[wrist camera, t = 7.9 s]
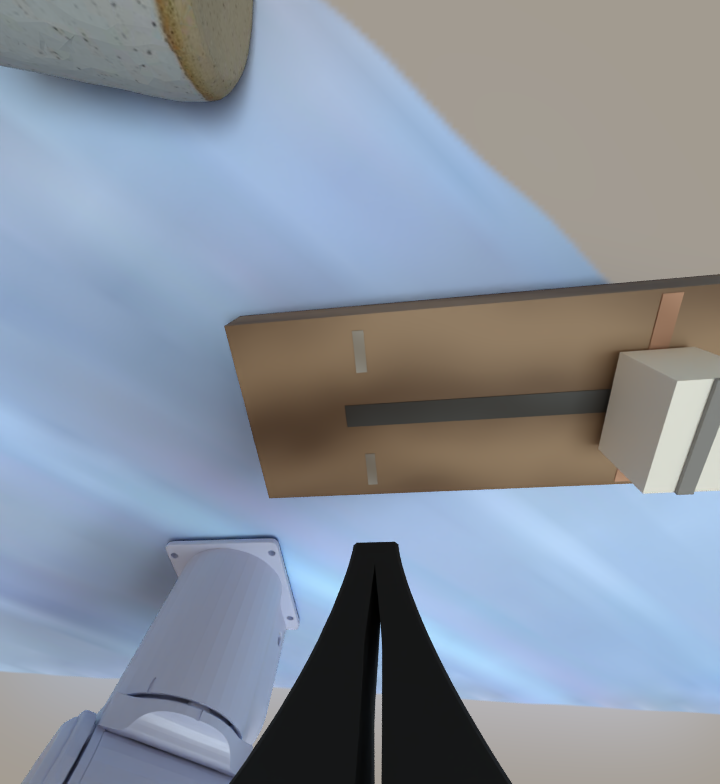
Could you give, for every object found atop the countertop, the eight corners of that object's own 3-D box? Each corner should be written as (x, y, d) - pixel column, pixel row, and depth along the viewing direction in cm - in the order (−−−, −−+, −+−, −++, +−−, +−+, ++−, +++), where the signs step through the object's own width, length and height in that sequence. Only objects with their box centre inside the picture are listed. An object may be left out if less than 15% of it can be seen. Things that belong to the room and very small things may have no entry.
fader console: (692, 456, 20) (725, 480, 18) (278, 475, 22) (268, 498, 20) (760, 270, 16) (812, 276, 14) (240, 316, 18) (223, 326, 16)
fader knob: (662, 445, 17) (725, 493, 14) (597, 448, 17) (645, 496, 14) (693, 346, 15) (776, 376, 12) (619, 351, 15) (680, 383, 12)
